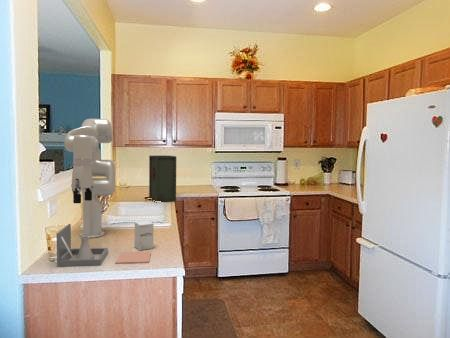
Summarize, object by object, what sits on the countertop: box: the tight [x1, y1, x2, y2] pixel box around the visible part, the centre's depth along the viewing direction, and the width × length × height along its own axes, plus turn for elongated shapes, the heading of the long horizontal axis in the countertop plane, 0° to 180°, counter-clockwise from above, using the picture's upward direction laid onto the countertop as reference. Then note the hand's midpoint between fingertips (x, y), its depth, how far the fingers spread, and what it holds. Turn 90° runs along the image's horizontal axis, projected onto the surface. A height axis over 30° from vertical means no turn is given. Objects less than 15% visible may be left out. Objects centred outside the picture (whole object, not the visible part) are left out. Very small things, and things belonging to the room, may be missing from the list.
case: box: [56, 223, 109, 268], centre depth 150 cm, size 16×17×14 cm
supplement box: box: [134, 220, 154, 252], centre depth 168 cm, size 7×7×13 cm
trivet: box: [115, 250, 152, 265], centre depth 153 cm, size 14×14×1 cm
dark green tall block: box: [148, 155, 177, 204], centre depth 304 cm, size 18×18×40 cm
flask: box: [75, 236, 95, 260], centre depth 150 cm, size 7×7×10 cm
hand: (82, 201), depth 151 cm, fingers open, 9 cm apart
